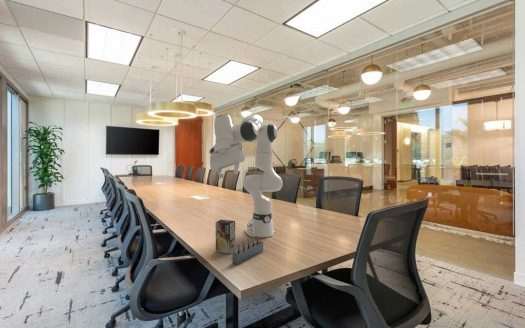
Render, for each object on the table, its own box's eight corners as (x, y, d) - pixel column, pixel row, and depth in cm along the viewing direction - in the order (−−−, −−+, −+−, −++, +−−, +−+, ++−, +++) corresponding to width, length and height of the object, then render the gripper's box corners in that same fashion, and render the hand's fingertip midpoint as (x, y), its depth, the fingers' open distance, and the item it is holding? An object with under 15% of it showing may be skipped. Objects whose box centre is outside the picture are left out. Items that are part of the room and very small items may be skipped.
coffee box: (236, 250, 140) (236, 220, 140) (230, 254, 134) (230, 223, 134) (221, 247, 144) (221, 219, 143) (215, 251, 138) (215, 221, 137)
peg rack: (231, 263, 122) (231, 245, 122) (258, 250, 141) (258, 233, 140) (237, 265, 120) (237, 246, 120) (263, 251, 139) (263, 234, 138)
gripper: (246, 141, 118) (249, 171, 115) (216, 153, 130) (219, 180, 127) (236, 139, 113) (239, 170, 110) (206, 151, 126) (209, 179, 123)
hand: (228, 175), depth 119 cm, fingers open, 8 cm apart
